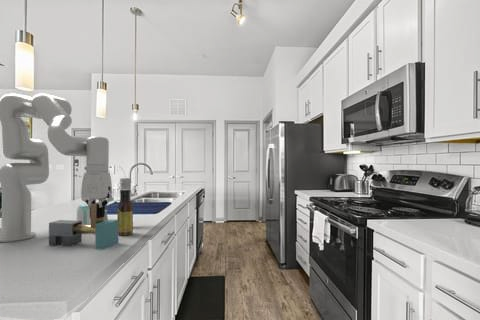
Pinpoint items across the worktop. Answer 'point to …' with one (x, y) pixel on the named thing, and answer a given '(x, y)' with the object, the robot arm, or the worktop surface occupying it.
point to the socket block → (106, 234)
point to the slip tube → (94, 220)
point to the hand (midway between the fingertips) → (97, 217)
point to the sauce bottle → (125, 213)
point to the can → (84, 214)
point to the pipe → (124, 182)
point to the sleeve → (63, 233)
